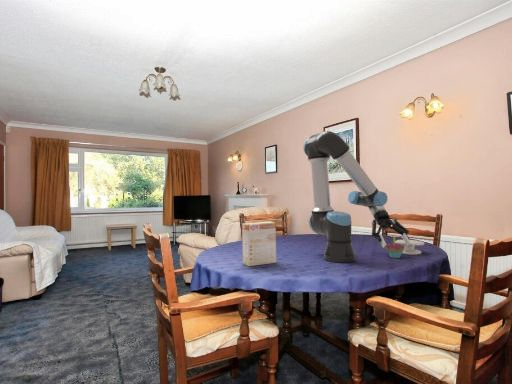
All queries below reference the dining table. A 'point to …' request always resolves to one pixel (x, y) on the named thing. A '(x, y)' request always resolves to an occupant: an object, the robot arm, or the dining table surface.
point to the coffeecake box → (259, 243)
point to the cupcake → (395, 249)
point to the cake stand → (410, 247)
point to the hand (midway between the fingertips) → (397, 245)
